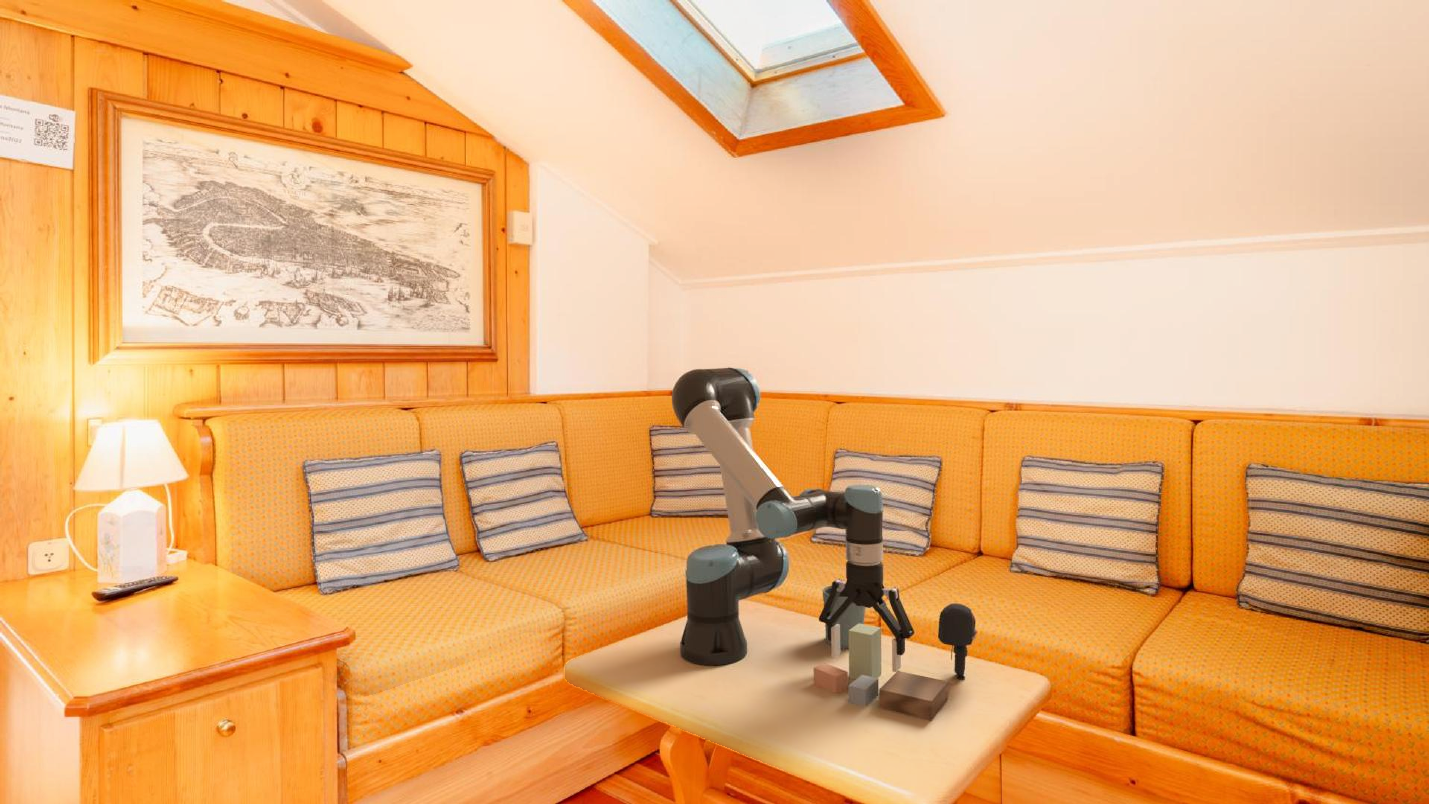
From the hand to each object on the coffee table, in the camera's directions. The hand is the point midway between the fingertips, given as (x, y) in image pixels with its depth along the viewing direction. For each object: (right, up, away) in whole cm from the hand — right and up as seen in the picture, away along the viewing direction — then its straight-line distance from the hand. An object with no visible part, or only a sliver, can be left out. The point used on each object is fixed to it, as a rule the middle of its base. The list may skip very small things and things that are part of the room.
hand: (865, 662), depth 161 cm
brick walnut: (+7, -4, -13) cm, 15 cm away
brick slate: (-2, -4, -10) cm, 11 cm away
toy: (+19, -3, -1) cm, 19 cm away
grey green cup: (-1, -2, +20) cm, 20 cm away
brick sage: (0, -3, 0) cm, 3 cm away
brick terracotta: (-8, -3, -4) cm, 9 cm away
